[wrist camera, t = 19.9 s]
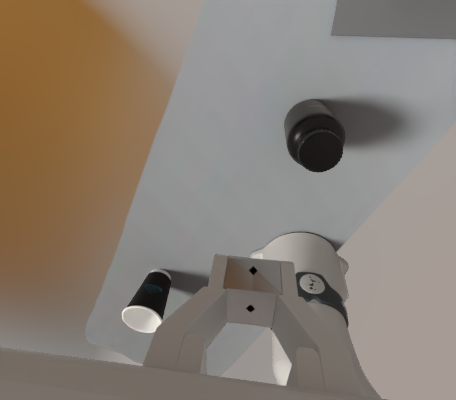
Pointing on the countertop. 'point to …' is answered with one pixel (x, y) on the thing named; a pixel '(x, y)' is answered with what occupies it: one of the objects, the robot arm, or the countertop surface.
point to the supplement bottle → (314, 136)
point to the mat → (396, 18)
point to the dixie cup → (148, 302)
